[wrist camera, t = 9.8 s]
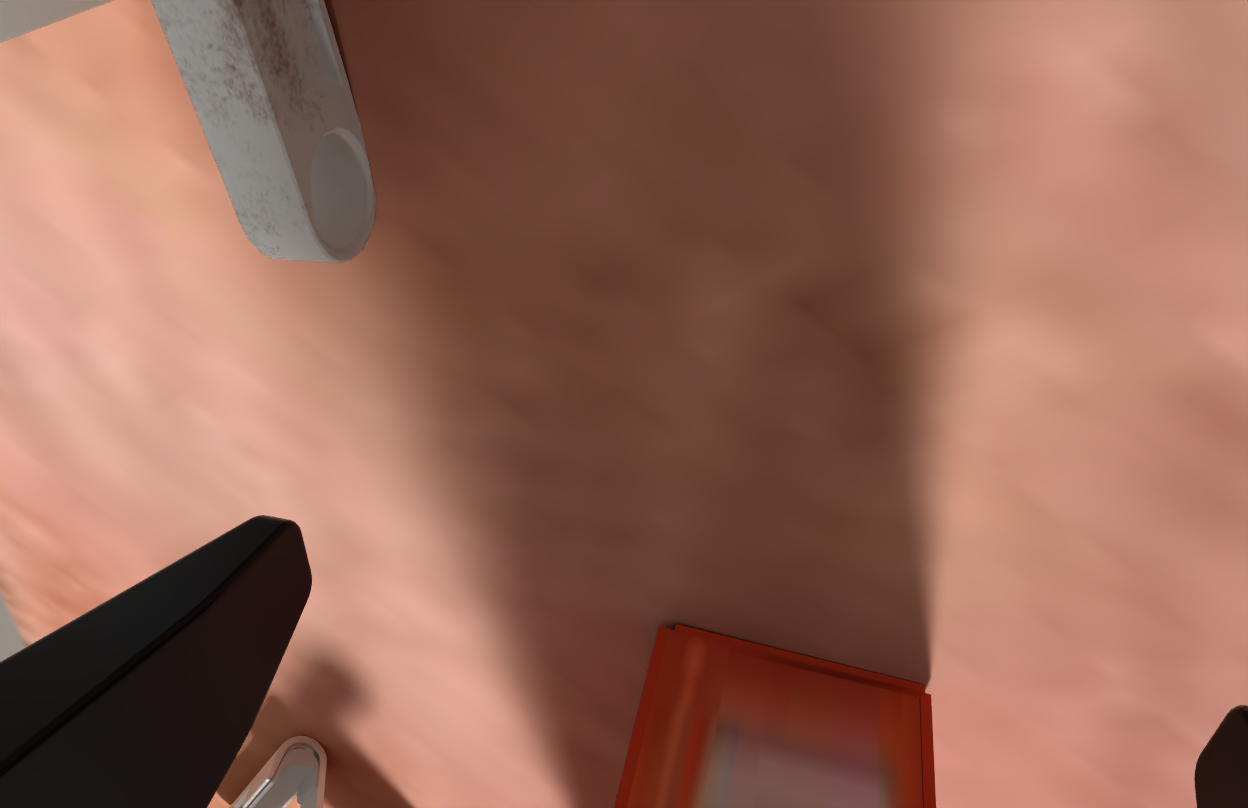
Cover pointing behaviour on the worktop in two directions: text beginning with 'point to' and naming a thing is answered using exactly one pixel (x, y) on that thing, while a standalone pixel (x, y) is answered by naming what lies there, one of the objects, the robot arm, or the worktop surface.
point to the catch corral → (38, 14)
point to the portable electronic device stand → (288, 777)
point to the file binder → (773, 731)
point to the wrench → (277, 121)
